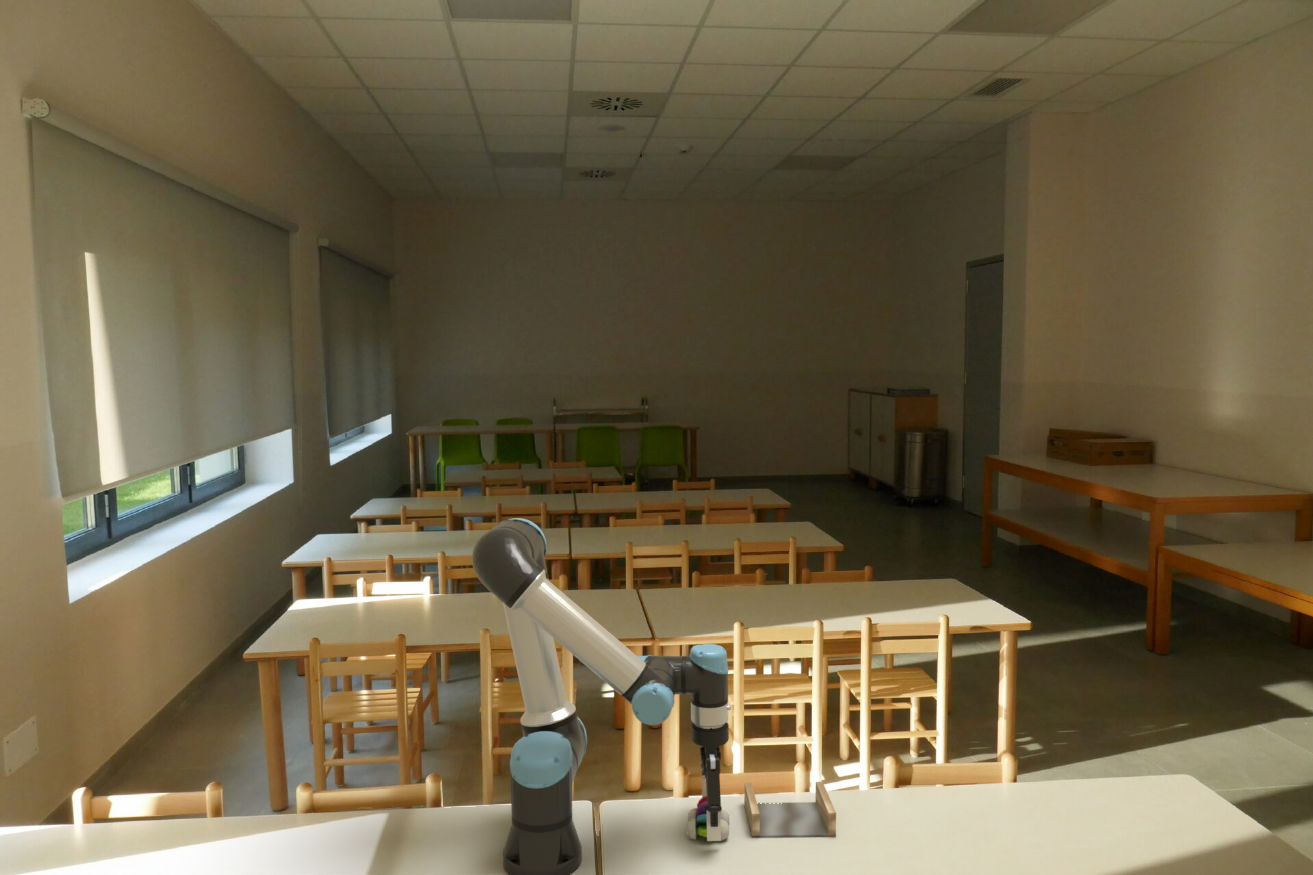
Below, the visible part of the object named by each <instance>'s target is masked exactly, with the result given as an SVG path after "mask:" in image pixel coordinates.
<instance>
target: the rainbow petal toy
mask: <svg viewBox="0 0 1313 875" xmlns="http://www.w3.org/2000/svg"><path fill="white" fill-rule="evenodd" d="M704 807H707V796H705V797H703V798H702V797H701V798H700V799H699V800H698V802H697V805H696V807H694V808H693V809H691V810H690V811H689V812H688V815H687V823H686V834H687V835H688V837H689V838H690V839H692V840H697V835H698V836H701V837H704V838H707V811H704ZM729 835H730V813H728V812H727V811H726V810H725V809H722V810H721V841H724V840H726V839H727V838H728V837H729Z"/></svg>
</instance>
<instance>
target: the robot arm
mask: <svg viewBox="0 0 1313 875" xmlns="http://www.w3.org/2000/svg"><path fill="white" fill-rule="evenodd" d="M471 554H472V555H471V564H472V568H473V571H474V573H475V575H476V578H478V580H479V581H480V583H482V585H483V586H484V587H485V588H486V589H487V590H488V592H490V593H492V595H493V596H495V597H496V598H497V599H498V601H500V602H501V603H502V606H503V612H504V615H505V620H506V626H507V629H508V630H507V631H508V634H509V639H510V643H511V649H512V653H513V657H514V662H515V667H516V671H517V677H518V682H519V686H520V690H521V696H522V700H523V703H524V704H523V705H524V709H525V711H524V713H523V714H522V716H521V717H520V720H519V722H520V726H521V731H522V735H523V736H522V737H521V738H519V739H518V740H517V741H516V742H515V743H514V745H513V747H512V748H511V753H510V759H509V770H510V771H509V772H510V798H511V799H510V803H511V804H510V805H511V806H510V808H511V809H510V810H511V812H510V813H511V823H510V828H509V832H508V834H507V838H506V841H505V843H504V847H503V850H502V866H503V869H504V870H505V872H506V873H507V874H509V875H570V874H572V873H573V872H575V871H576V870H577V869H578V868H579V867H580V865H581V864H582V860H583V859H582V858H583V855H582V854H583V853H582V851H583V849H582V843H581V841H580V838H579V835H578V833H577V832H578V831H577V829H576V826H575V824H574V819H573V784H574V780H575V778H576V775H577V772H578V770H579V767H580V765H581V763H582V761H583V759H584V757H585V754H586V752H587V745H588V735H587V729H586V728H585V727H586V726H585V725H584V723H583V722H582V720H581V719H580V717H579V716H578V712H577V708H576V705H575V704H574V703H572V702H571V701H569V700H567V694H566V691H565V686H564V681H563V677H562V672H561V667H560V664H559V658H558V652H557V649H556V643H555V641H556V642H558V644H560V646H562V647H563V648H564V649H565V650H567V651H568V652H569V653H571V654H572V655H573V656H574V657H575V658H577V659H578V660H579V661H580V662H581V663H582V664H583V665H585V666H586V667H587V668H588V669H589V670H591V672H592V673H594V674H595V675H597V676H598V678H600V679H601V680H602V681H604V683H606V684H607V685H608V686H609V687H610V688H612V689H613V690H614V691H615V692H617V694H619V695H620V696H621V697H622V698H623V699H625V701H627V702H628V703H629V705H631V709H632V713H633V715H634V716H635V718H636V719H637V720H638V721H639V722H641V723H642V724H645V725H648V726H657V725H659V724H662V723H664V722H665V721H666V720H668V718H669V716H670V714H672V713H671V712H672V710H673V708H674V706H675V705H674V704H675V695H690V721H691V741H692V743H693V744H695V745H696V746H699V751H700V752H699V753H700V754H699V755H700V761H701V764H700V767H701V774H702V776H701V793H702V794H701V795H702V796H701V798H703V797H705V796H707V807H704V811H707V837H706V841H707V842H721V841H722V840H721V810H723V808H722V799H721V797H722V796H721V779H720V777H721V776H720V775H721V759H722V753H721V751H720V746H724V745H725V744H727V743H728V742H729V740H730V739H729V738H730V737H729V731H730V730H729V726H730V725H729V723H728V721H729V711H731V710H732V706H731V705H730V704H729V667H728V653H727V650H726V649H725V648H724V647H723V646H721V645H718V644H714V643H704V644H696V645H693V646H692V647H691V648H690V653H689V655H685V656H682V655H680V656H679V655H652V654H648V655H636V654H635V652H633V651H632V650H631V649H630V648H629V647H627V646H626V644H624V643H623V642H622V641H620V640H619V639H618V638H617V637H616V636H615V635H614V634H612V633H611V632H610V631H608V630H607V629H606V628H605V627H604V626H603V625H601V624H600V623H599V622H598V621H597V620H595V619H594V618H593V617H592V616H591V615H590V614H588V613H587V612H586V611H585V610H584V609H583V608H582V607H580V606H579V605H578V604H576V602H574V600H572V599H571V598H569V597H568V596H567V595H566V593H564V592H563V591H561V590H560V589H559V588H558V587H557V586H555V585H554V584H553V583H552V582H551V581H550V580H549V574H548V568H547V565H546V564H547V563H546V560H545V557H546V554H547V539H546V536H545V534H544V532H543V531H542V529H541V527H539V526H538V525H537V524H536V523H534V522H533V521H531V520H528V519H526V518H522V517H521V518H520V517H516V518H515V517H514V518H509V519H506V520H502V521H500V522H498V523H497V524H496V525H494V527H493V528H491V529H490V530H488V531H486V532H485V533H483V534H482V535H481V536H480V537H479V539H477V541H476V543H475V545H474V547H473V549H472V553H471Z"/></svg>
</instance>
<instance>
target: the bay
mask: <svg viewBox="0 0 1313 875" xmlns="http://www.w3.org/2000/svg"><path fill="white" fill-rule="evenodd" d="M743 791H744V794H743V796H744V804H745V805H744V808H746V809H745V813H746V812H747V814H746V818H747V817H748V818H747V821H748V826H749V830H750V835H751V838H830V837H831V838H833V837H834V838H836V837H837V829H836V828H837V812H836V809H835V807H834V804H833V802H832V800H831V798H830V795H829V793H828V790H827V789H826V786H825V783H824V782H823V781H815V801H812V802H810V801H809V802H807V801H806V802H803V801H802V802H757V798H756V795H755V790H754V787H753V783H752V782H744V790H743ZM757 803H758V804H757ZM760 803H762V804H760ZM765 803H766V804H765ZM769 803H771V804H769ZM773 803H775V804H773ZM777 803H779V804H777ZM781 803H782V804H781Z"/></svg>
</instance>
